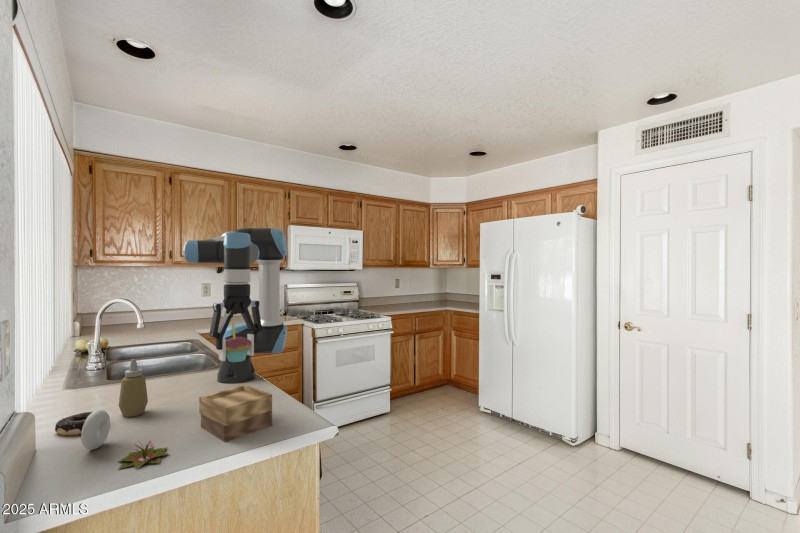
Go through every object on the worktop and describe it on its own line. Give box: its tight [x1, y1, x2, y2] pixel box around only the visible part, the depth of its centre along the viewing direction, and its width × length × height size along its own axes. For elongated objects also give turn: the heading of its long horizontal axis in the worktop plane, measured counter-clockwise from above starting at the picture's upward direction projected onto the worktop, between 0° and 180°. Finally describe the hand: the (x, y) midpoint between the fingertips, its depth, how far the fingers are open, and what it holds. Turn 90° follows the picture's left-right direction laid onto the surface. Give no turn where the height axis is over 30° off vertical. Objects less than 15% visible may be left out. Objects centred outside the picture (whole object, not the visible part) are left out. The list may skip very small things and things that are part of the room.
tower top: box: [198, 384, 273, 426], centre depth 122 cm, size 15×15×5 cm
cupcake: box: [226, 321, 252, 362], centre depth 121 cm, size 9×8×12 cm
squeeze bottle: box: [118, 358, 149, 418], centre depth 130 cm, size 8×8×18 cm
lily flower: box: [117, 439, 170, 470], centre depth 101 cm, size 12×12×5 cm
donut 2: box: [80, 409, 111, 451], centre depth 107 cm, size 10×4×10 cm, turn 12°
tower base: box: [200, 410, 273, 443], centre depth 122 cm, size 15×15×5 cm
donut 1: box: [54, 411, 93, 436], centre depth 119 cm, size 11×12×4 cm
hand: (236, 357), depth 121 cm, fingers closed on cupcake, 8 cm apart
